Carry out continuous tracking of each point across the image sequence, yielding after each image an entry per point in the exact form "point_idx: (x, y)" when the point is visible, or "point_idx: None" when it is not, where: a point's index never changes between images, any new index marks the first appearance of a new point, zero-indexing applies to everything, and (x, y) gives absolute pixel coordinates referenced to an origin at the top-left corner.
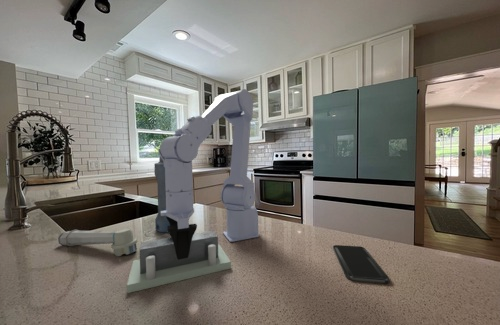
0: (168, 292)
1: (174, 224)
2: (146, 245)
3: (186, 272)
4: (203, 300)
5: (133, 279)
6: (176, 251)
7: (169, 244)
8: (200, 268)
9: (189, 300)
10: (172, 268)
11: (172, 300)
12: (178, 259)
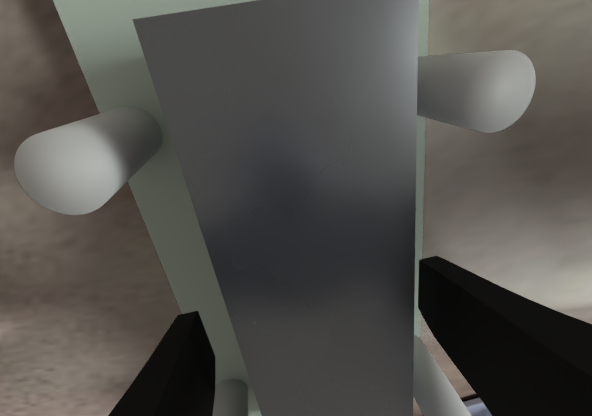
0: (79, 222)
1: (575, 409)
2: (270, 91)
3: (180, 302)
4: (21, 355)
5: (123, 9)
6: (143, 368)
7: (235, 327)
8: None
9: (19, 311)
10: None
11: (15, 250)
12: (176, 319)
